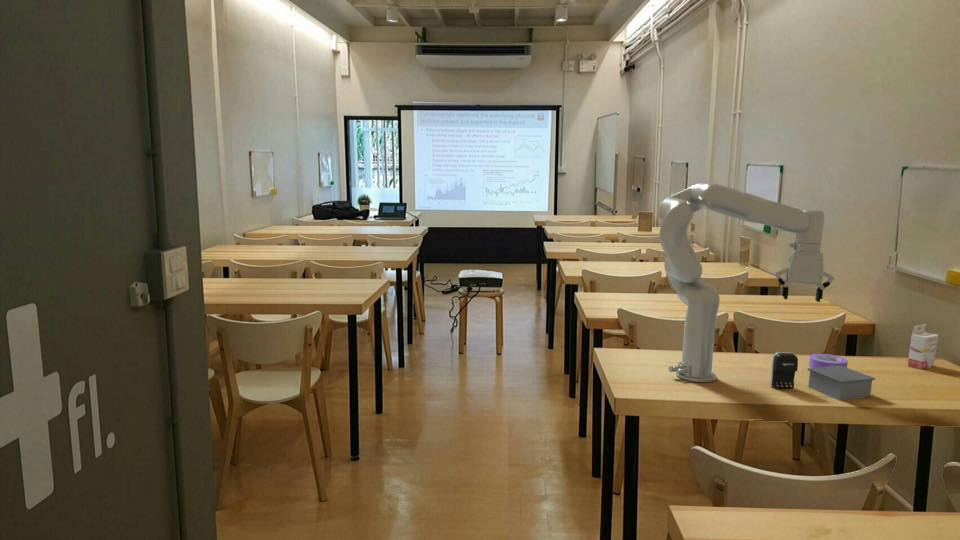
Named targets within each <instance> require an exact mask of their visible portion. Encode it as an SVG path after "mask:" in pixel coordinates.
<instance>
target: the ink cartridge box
mask: <svg viewBox="0 0 960 540" xmlns="http://www.w3.org/2000/svg"><path fill="white" fill-rule="evenodd" d="M926 328H927V324H926V323H922V324H918V325H914V326H913V329H912V334H911V337H910V338H911V339H910V345H909V351H908V353H909V354H908V361H907V366H908V367H911V368H914V367H915V369H918V368H919V369H918V370H924V368H925V369H928V367H929V368H932V367H931V366H933V367H934V366H935V360H936V352H937V346H938V341H939V334H938V333H937V334H936V333H933V332H927V331H926Z"/></svg>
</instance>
